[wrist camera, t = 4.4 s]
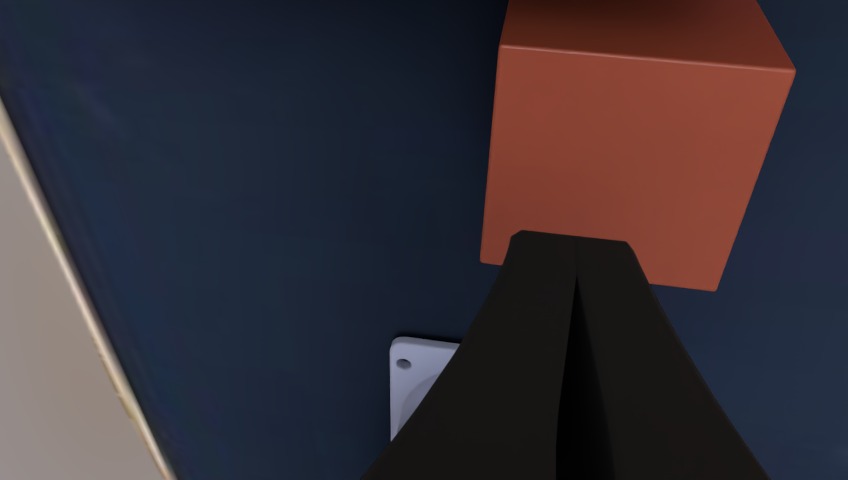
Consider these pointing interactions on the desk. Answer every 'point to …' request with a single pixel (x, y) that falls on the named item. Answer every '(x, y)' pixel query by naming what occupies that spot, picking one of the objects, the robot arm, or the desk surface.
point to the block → (633, 127)
